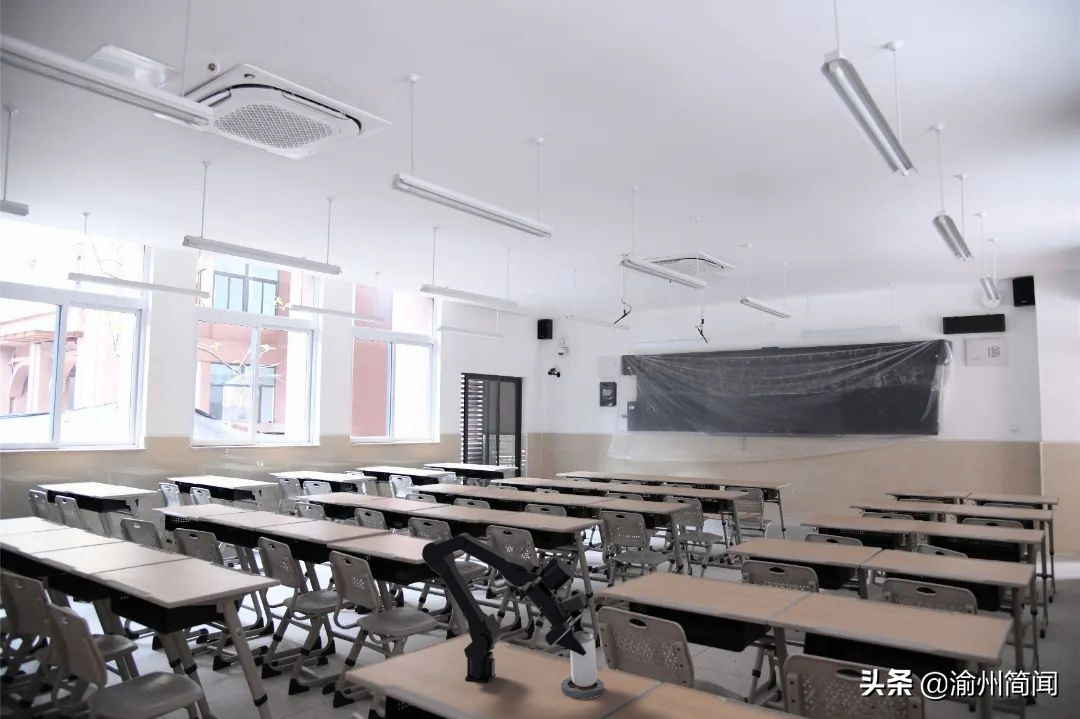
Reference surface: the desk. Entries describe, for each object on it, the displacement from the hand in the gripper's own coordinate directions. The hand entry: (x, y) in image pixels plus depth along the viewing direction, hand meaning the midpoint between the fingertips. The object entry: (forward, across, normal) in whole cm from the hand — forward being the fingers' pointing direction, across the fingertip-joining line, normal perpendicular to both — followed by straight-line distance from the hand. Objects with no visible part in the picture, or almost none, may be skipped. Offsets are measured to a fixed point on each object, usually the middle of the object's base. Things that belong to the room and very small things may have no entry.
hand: (587, 650), depth 176 cm
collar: (+6, 0, +8) cm, 10 cm away
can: (+5, +2, +7) cm, 9 cm away
